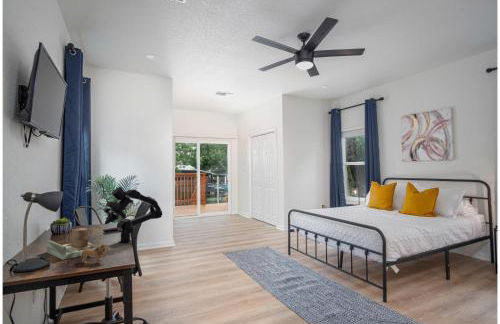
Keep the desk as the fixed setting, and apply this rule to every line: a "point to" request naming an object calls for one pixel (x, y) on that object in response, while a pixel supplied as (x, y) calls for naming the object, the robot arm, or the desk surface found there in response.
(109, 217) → the robot arm
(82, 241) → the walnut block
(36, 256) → the desk surface
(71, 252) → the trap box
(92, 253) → the lion figurine
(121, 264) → the desk surface
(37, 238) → the desk surface
